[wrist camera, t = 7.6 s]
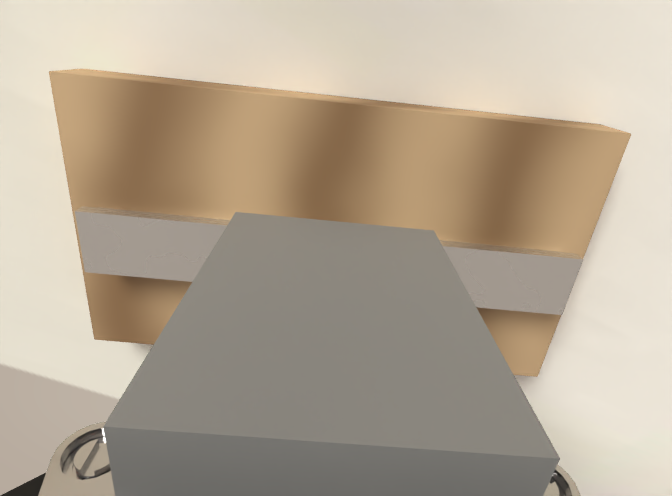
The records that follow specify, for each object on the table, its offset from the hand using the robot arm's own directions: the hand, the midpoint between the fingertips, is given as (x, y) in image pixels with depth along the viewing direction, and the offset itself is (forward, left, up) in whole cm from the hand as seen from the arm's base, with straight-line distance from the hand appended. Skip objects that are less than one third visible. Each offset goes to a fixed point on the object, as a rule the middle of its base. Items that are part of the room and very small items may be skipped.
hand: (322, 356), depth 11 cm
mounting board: (0, 0, -8) cm, 8 cm away
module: (0, 0, -1) cm, 1 cm away
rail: (0, 0, -6) cm, 6 cm away
